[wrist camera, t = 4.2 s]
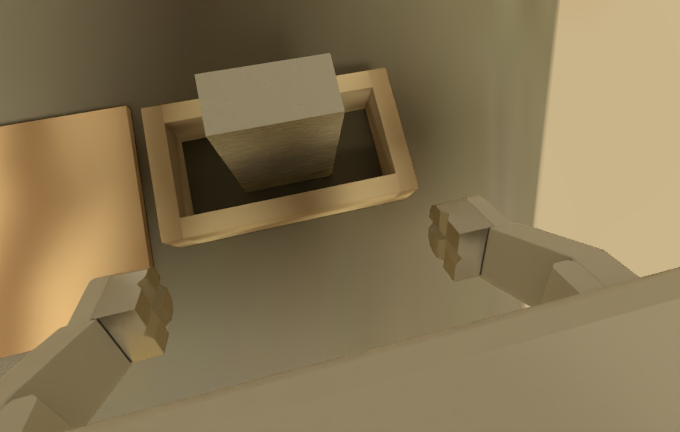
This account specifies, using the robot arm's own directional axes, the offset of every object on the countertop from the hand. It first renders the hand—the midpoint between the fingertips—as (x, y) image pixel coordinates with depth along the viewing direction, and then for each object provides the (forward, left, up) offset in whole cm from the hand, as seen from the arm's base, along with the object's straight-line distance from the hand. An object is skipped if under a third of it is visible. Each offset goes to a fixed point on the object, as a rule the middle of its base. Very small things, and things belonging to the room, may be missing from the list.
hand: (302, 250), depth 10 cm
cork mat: (-14, +5, -9) cm, 17 cm away
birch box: (0, +6, -9) cm, 11 cm away
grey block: (0, +6, -9) cm, 11 cm away
